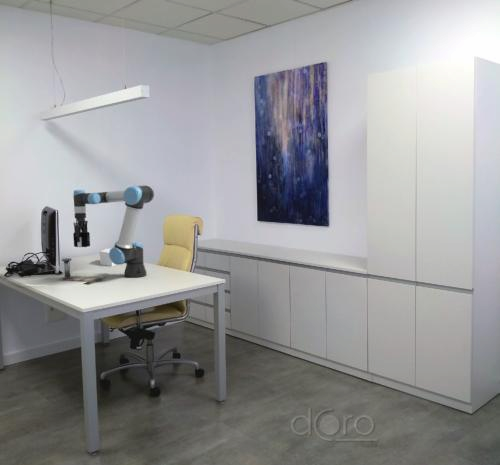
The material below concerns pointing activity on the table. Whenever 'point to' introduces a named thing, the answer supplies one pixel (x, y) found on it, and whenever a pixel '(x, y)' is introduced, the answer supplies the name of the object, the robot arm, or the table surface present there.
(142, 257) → the robot arm
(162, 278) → the table surface
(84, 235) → the electronic device
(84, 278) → the walnut board
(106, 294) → the table surface
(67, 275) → the bobbin
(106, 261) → the white rectangular block
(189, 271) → the table surface
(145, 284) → the table surface
